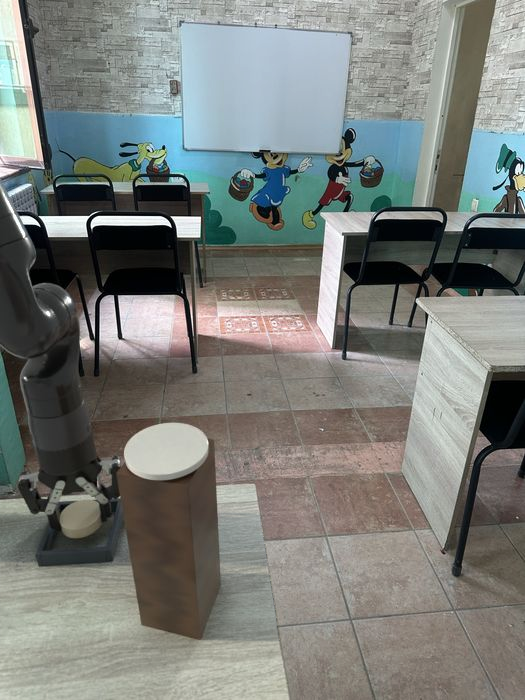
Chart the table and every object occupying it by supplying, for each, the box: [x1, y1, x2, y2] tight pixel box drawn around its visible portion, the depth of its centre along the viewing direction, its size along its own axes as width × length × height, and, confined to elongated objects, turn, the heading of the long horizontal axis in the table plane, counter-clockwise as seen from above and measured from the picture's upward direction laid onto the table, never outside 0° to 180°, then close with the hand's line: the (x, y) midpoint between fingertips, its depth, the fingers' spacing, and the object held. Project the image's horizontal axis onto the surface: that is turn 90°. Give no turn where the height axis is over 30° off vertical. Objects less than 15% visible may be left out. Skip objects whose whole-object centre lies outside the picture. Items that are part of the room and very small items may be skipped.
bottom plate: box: [123, 422, 209, 480], centre depth 52 cm, size 9×9×1 cm
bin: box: [35, 497, 124, 568], centre depth 73 cm, size 10×10×4 cm
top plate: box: [59, 498, 103, 539], centre depth 72 cm, size 6×6×2 cm
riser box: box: [116, 437, 222, 641], centre depth 58 cm, size 8×8×26 cm
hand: (82, 522), depth 72 cm, fingers closed on top plate, 6 cm apart
